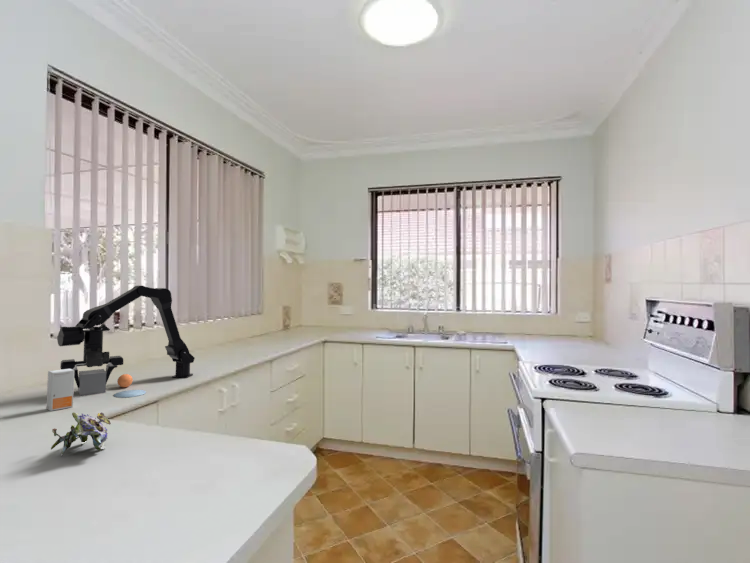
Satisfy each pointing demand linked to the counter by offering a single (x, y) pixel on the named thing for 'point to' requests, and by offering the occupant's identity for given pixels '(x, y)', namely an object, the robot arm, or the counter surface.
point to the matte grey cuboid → (92, 382)
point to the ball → (125, 380)
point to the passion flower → (85, 431)
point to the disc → (129, 393)
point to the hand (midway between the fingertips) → (92, 386)
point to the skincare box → (60, 389)
